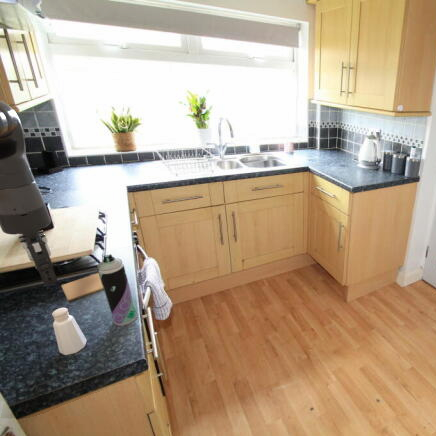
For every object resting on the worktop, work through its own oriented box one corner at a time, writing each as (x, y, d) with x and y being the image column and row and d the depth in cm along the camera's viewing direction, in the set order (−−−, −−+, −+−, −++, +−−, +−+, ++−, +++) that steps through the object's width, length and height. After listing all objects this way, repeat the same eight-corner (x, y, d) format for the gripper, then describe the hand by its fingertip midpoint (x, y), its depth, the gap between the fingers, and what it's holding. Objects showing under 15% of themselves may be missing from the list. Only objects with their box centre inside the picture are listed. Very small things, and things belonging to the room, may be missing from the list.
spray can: (121, 328, 83) (101, 263, 75) (109, 321, 86) (89, 257, 78) (141, 316, 88) (125, 253, 80) (129, 309, 90) (112, 248, 82)
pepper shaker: (53, 355, 75) (37, 319, 70) (70, 338, 80) (56, 303, 75) (77, 355, 75) (62, 319, 71) (92, 338, 80) (79, 303, 75)
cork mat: (61, 304, 91) (60, 302, 91) (54, 289, 97) (54, 287, 97) (109, 286, 99) (108, 285, 99) (100, 273, 105) (100, 272, 105)
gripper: (-10, 200, 65) (20, 268, 71) (-4, 222, 56) (29, 296, 63) (38, 192, 70) (61, 256, 77) (50, 211, 61) (75, 280, 68)
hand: (47, 274), depth 70 cm, fingers open, 8 cm apart
